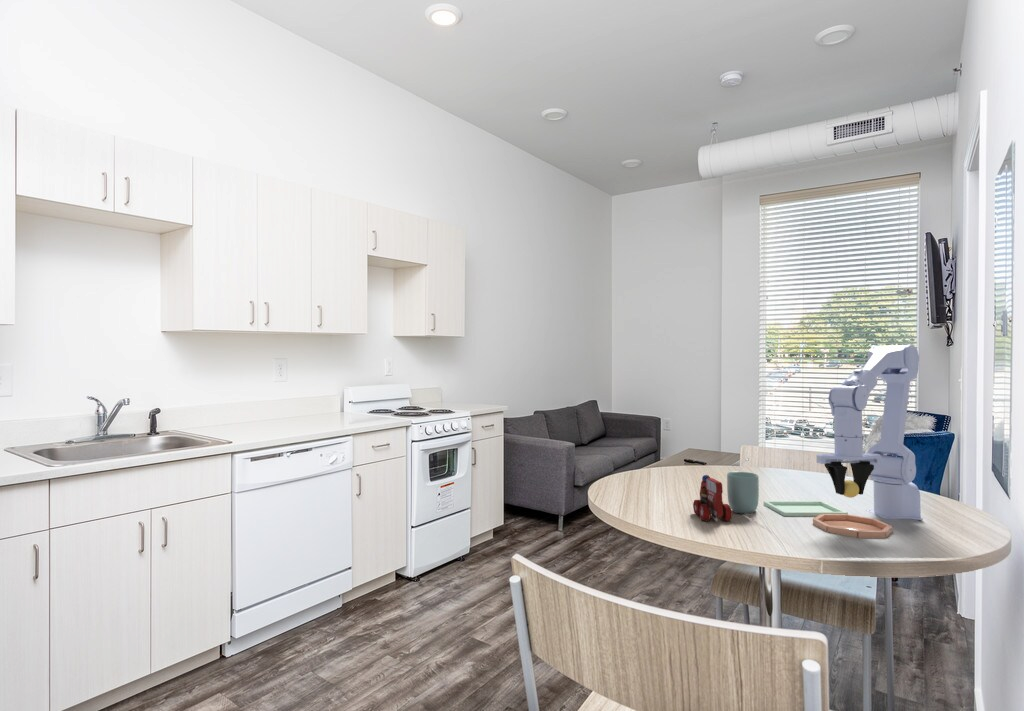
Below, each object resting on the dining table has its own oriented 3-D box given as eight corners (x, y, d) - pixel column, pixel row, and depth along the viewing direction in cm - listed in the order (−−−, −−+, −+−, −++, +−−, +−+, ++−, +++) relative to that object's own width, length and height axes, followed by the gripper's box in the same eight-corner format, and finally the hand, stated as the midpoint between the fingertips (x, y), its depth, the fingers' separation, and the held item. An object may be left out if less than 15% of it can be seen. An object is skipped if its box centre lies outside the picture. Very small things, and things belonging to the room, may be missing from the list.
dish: (864, 521, 137) (864, 514, 137) (906, 540, 122) (906, 532, 122) (803, 521, 137) (803, 513, 137) (837, 540, 122) (837, 531, 122)
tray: (822, 506, 152) (822, 501, 152) (848, 518, 140) (848, 512, 140) (763, 506, 152) (763, 501, 152) (784, 518, 140) (784, 512, 140)
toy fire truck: (716, 511, 147) (715, 472, 148) (734, 524, 135) (734, 481, 135) (690, 511, 147) (689, 472, 148) (706, 524, 135) (705, 481, 135)
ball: (853, 495, 132) (853, 478, 132) (863, 499, 128) (862, 482, 128) (836, 495, 132) (835, 478, 133) (845, 499, 128) (845, 482, 129)
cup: (762, 516, 141) (761, 477, 142) (730, 515, 143) (729, 476, 143) (755, 509, 149) (754, 472, 149) (724, 507, 151) (724, 471, 151)
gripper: (866, 433, 135) (867, 489, 135) (808, 434, 134) (809, 490, 134) (887, 437, 128) (888, 496, 128) (826, 438, 127) (827, 497, 127)
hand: (849, 493), depth 130 cm, fingers closed on ball, 4 cm apart
